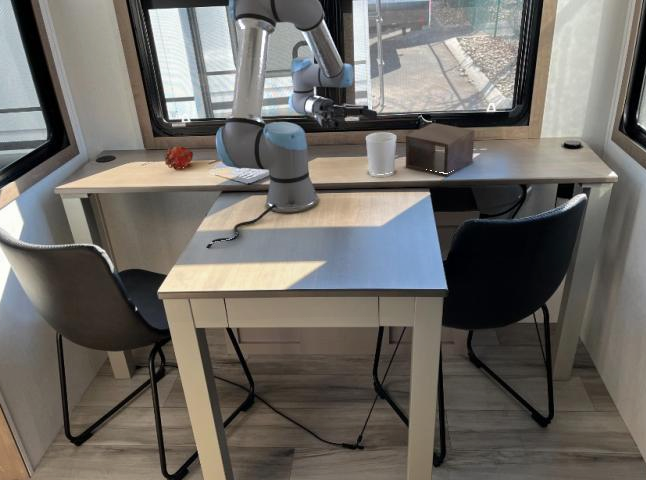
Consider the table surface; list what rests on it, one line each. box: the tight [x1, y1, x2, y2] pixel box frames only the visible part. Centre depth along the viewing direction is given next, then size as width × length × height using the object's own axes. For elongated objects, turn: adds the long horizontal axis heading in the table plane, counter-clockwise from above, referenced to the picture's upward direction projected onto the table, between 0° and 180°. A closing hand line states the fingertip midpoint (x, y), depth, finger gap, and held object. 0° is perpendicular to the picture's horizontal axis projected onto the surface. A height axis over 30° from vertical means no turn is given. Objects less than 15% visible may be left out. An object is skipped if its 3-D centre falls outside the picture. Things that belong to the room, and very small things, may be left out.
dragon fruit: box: [164, 144, 194, 170], centre depth 209 cm, size 8×8×12 cm
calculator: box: [209, 162, 270, 181], centre depth 202 cm, size 13×20×2 cm, turn 51°
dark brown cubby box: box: [405, 122, 476, 178], centre depth 195 cm, size 16×16×11 cm
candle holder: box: [365, 131, 397, 178], centre depth 192 cm, size 10×10×12 cm
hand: (360, 120), depth 194 cm, fingers open, 13 cm apart
